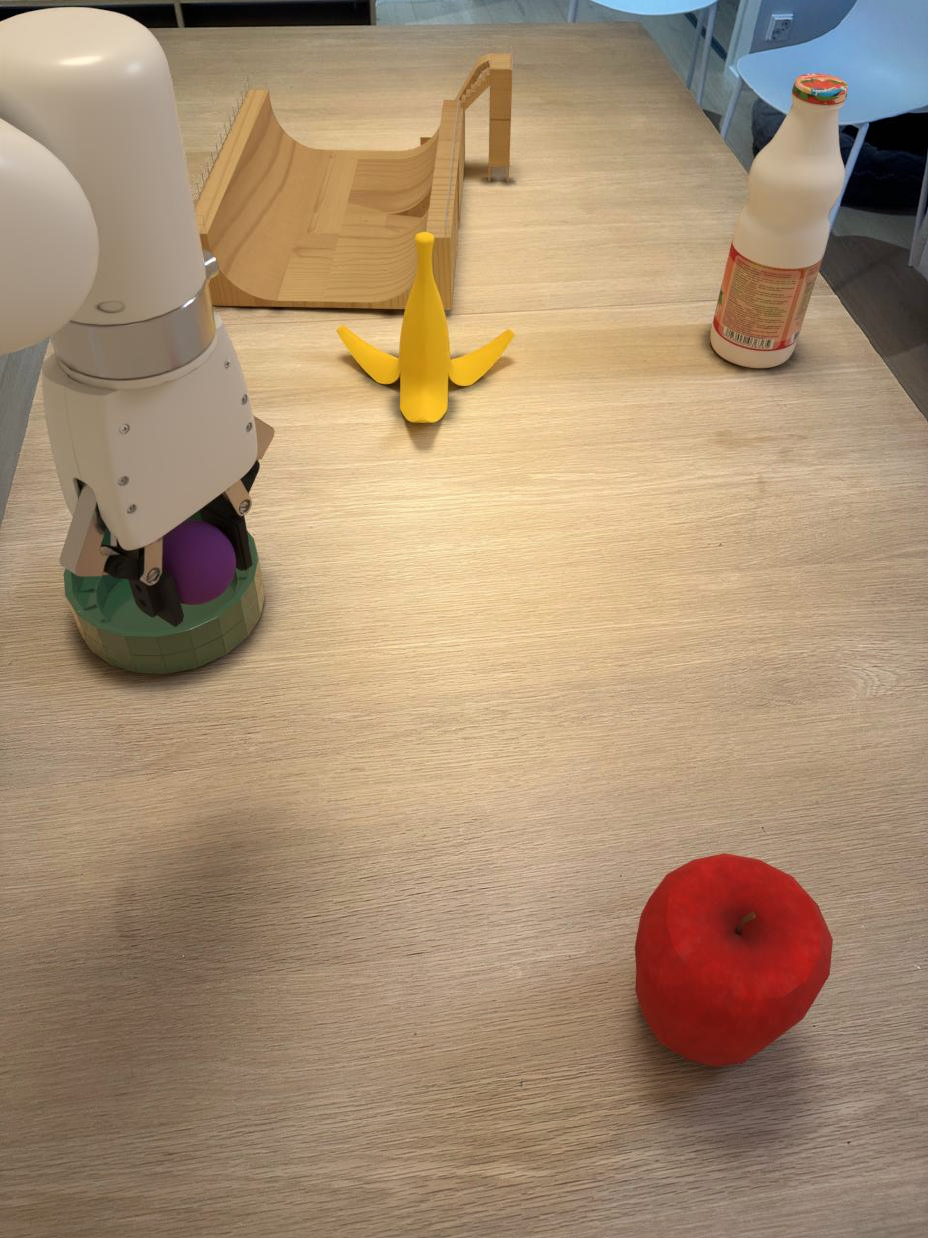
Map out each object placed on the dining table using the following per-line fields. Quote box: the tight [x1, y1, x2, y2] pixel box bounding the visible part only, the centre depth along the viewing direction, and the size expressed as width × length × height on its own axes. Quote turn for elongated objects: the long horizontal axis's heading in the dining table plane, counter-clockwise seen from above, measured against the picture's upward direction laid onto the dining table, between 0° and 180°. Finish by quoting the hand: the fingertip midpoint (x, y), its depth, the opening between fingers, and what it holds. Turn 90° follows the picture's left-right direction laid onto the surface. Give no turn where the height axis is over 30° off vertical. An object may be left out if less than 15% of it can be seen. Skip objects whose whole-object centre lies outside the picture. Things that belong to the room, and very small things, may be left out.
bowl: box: [63, 510, 266, 675], centre depth 84 cm, size 15×15×5 cm
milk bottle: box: [710, 72, 849, 369], centre depth 104 cm, size 9×9×28 cm
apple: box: [634, 852, 834, 1068], centre depth 59 cm, size 11×10×14 cm
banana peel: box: [336, 232, 516, 424], centre depth 100 cm, size 16×19×17 cm
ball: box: [162, 519, 236, 605], centre depth 60 cm, size 5×5×5 cm
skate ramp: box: [192, 38, 514, 311], centre depth 125 cm, size 40×35×16 cm
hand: (196, 583), depth 61 cm, fingers closed on ball, 4 cm apart
